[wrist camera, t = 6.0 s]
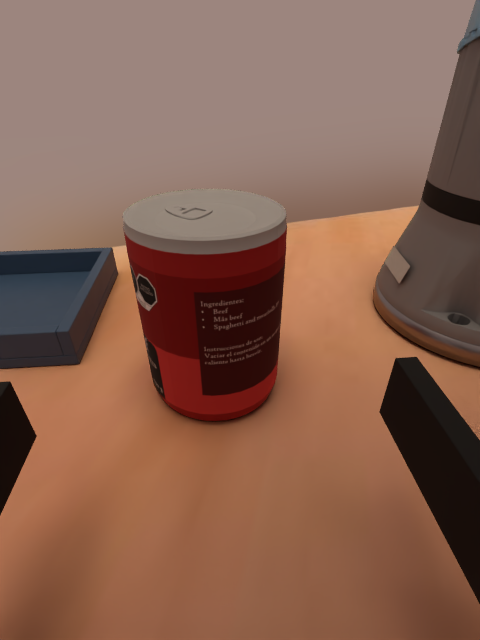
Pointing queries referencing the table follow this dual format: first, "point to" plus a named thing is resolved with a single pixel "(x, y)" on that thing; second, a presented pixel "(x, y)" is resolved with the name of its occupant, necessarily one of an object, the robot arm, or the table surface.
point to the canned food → (209, 296)
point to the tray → (51, 303)
